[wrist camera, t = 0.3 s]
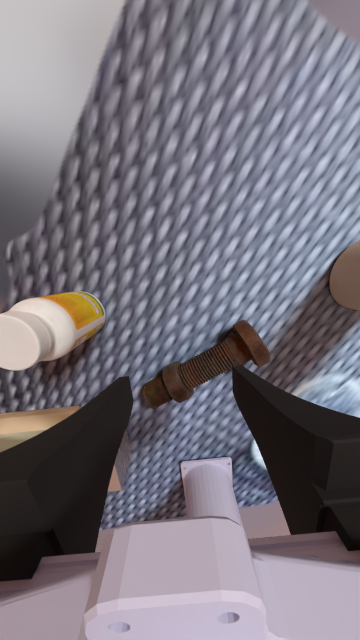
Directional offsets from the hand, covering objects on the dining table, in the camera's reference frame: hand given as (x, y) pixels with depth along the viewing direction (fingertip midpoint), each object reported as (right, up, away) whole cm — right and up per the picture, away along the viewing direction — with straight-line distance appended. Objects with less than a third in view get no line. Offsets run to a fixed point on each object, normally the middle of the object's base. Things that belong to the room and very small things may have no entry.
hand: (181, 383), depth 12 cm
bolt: (+2, -1, +11) cm, 11 cm away
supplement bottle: (-12, +5, +9) cm, 16 cm away
